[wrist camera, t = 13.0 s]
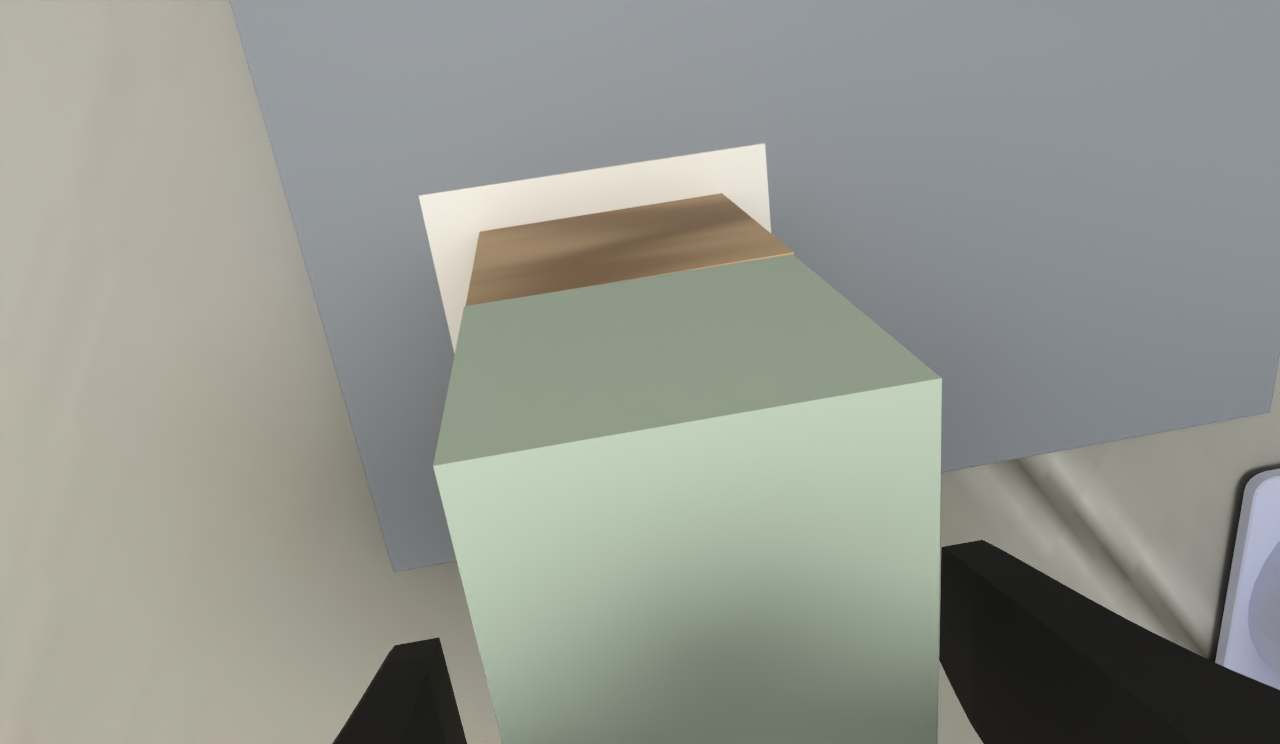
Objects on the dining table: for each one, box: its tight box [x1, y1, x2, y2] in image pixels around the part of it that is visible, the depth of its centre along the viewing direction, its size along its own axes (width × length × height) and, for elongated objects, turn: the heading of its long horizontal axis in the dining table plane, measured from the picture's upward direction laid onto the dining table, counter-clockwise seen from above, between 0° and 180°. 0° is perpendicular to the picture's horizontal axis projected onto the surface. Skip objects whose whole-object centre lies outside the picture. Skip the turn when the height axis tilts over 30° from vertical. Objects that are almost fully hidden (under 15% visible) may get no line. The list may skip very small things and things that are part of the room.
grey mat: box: [229, 0, 1280, 572], centre depth 18 cm, size 22×18×1 cm
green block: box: [433, 254, 942, 744], centre depth 12 cm, size 5×5×5 cm
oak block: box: [466, 193, 794, 306], centre depth 16 cm, size 5×5×5 cm
